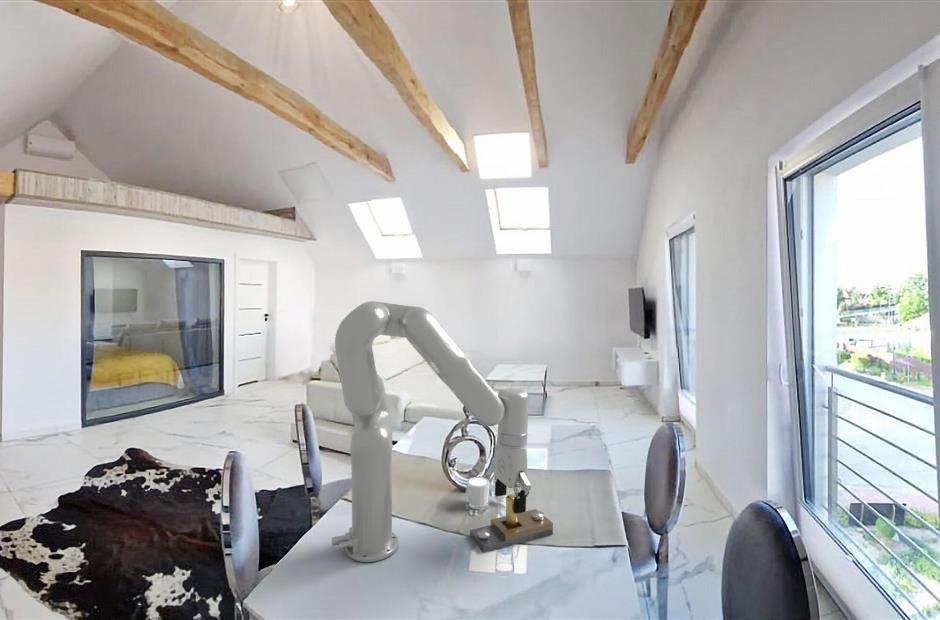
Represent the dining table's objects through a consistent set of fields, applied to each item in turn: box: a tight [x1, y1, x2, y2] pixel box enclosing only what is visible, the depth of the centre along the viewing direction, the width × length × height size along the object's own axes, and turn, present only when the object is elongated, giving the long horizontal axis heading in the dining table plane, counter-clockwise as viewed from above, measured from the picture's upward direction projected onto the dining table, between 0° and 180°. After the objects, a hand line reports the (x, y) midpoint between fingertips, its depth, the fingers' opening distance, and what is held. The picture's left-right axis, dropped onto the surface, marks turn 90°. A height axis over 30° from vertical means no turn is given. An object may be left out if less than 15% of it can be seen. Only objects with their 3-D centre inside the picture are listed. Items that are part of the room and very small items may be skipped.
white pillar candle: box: [466, 476, 491, 507], centre depth 131 cm, size 7×7×7 cm
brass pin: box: [505, 494, 518, 530], centre depth 114 cm, size 3×3×10 cm
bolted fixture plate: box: [469, 508, 554, 554], centre depth 115 cm, size 20×8×4 cm, turn 115°
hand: (509, 503), depth 114 cm, fingers open, 9 cm apart
